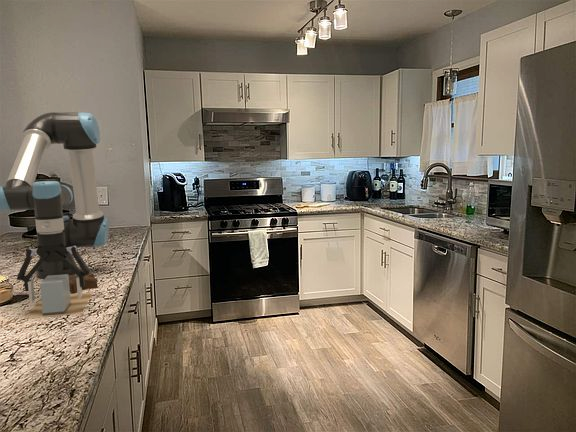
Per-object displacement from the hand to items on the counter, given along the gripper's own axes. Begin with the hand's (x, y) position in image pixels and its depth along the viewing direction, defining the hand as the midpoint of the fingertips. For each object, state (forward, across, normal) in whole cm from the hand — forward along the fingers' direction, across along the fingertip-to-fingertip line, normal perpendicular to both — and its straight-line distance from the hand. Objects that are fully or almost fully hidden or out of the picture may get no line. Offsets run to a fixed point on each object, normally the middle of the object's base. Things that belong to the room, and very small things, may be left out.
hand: (56, 299), depth 142 cm
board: (+4, 0, +5) cm, 6 cm away
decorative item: (+4, +1, +25) cm, 25 cm away
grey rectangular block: (+3, 0, 0) cm, 3 cm away
